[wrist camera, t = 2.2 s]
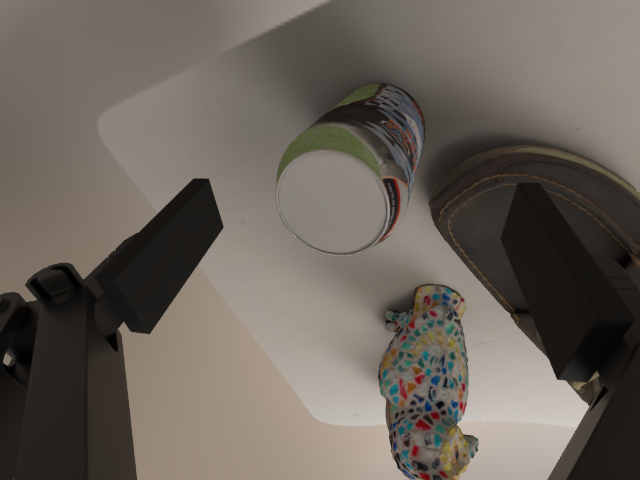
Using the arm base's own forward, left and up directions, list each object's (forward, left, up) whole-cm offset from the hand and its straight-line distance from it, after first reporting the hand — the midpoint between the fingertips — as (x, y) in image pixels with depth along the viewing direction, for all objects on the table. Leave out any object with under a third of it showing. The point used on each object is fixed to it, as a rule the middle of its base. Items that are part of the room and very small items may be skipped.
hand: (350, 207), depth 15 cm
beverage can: (0, 0, -11) cm, 11 cm away
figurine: (+20, +6, -11) cm, 23 cm away
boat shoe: (+11, +17, -11) cm, 23 cm away
